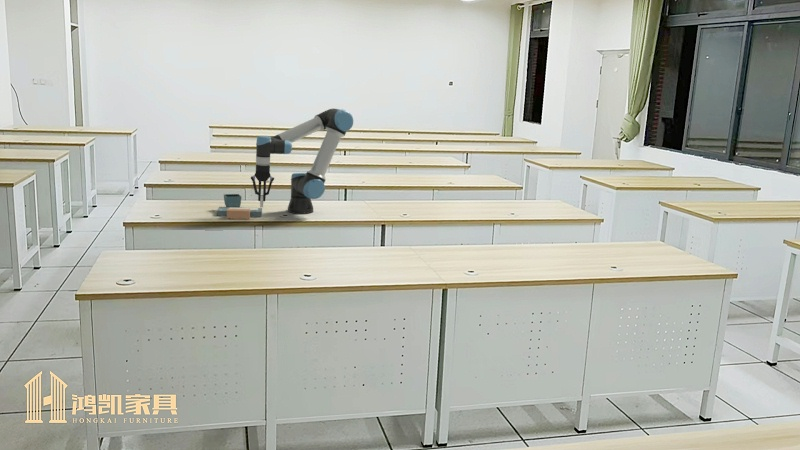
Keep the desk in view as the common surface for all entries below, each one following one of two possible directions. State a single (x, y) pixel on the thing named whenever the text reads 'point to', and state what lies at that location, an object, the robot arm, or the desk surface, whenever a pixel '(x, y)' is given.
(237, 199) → the flower pot
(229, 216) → the pink rectangular block
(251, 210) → the blue-grey flat slab
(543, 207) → the desk surface
